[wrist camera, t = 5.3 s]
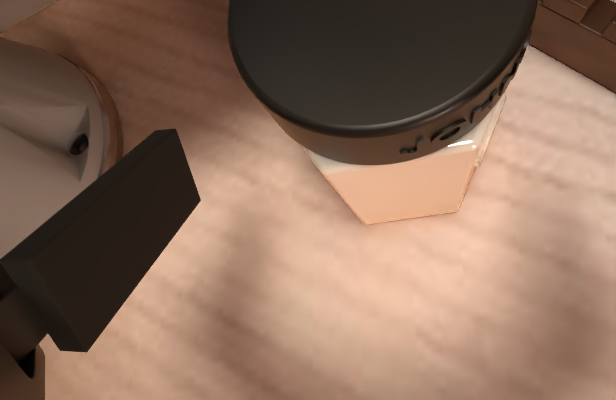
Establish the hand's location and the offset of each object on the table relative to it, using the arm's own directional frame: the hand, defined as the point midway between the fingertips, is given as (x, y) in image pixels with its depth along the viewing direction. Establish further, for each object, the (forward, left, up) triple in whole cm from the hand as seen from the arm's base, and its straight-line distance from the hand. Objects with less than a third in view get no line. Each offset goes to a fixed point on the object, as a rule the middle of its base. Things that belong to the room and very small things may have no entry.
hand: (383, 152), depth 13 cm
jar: (-2, +3, -9) cm, 10 cm away
